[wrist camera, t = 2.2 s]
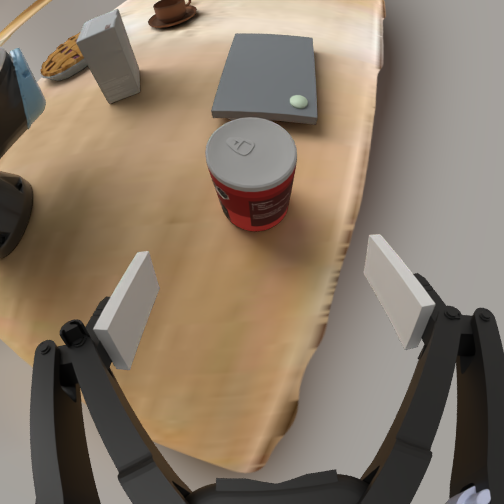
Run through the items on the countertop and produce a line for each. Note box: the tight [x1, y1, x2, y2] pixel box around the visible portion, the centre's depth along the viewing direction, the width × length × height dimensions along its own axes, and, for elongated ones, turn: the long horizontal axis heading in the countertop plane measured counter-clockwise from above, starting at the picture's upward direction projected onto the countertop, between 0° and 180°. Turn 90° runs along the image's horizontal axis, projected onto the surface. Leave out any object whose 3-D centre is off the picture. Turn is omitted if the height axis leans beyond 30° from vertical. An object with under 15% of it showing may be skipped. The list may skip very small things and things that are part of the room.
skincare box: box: [76, 9, 140, 104], centre depth 33 cm, size 8×7×16 cm
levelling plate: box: [211, 34, 317, 125], centre depth 37 cm, size 14×22×3 cm, turn 174°
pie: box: [41, 33, 88, 81], centre depth 45 cm, size 22×22×5 cm
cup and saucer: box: [148, 0, 197, 28], centre depth 45 cm, size 12×12×6 cm
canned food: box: [205, 117, 297, 231], centre depth 28 cm, size 8×8×11 cm
